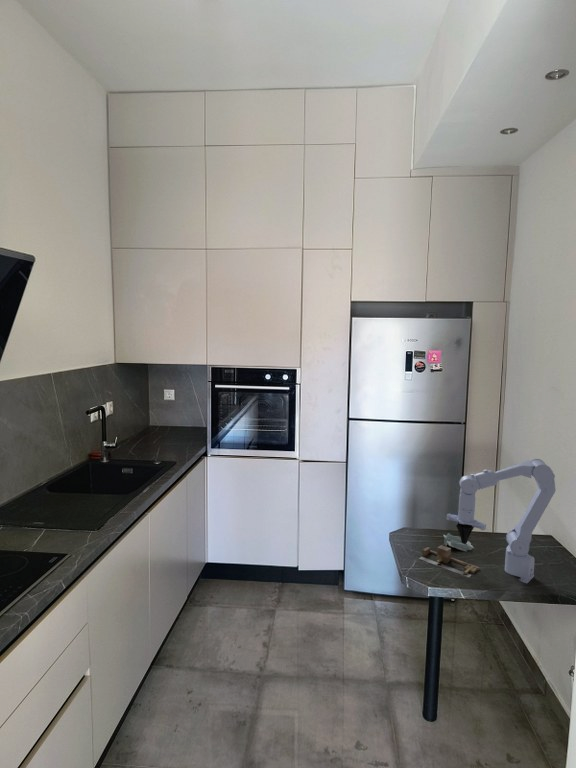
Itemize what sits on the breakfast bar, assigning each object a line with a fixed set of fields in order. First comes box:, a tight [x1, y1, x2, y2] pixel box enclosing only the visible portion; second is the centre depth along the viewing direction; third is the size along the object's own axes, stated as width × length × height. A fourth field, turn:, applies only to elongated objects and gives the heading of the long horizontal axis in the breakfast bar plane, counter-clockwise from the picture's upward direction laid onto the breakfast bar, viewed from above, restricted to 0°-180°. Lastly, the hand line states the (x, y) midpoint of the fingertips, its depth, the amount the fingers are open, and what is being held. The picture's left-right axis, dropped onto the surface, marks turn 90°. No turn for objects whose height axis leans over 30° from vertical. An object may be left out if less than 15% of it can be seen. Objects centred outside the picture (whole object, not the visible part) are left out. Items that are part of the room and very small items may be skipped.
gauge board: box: [418, 546, 480, 578], centre depth 184 cm, size 22×10×4 cm, turn 46°
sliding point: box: [436, 544, 452, 564], centre depth 185 cm, size 4×6×5 cm, turn 136°
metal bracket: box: [442, 532, 474, 552], centre depth 201 cm, size 14×6×15 cm
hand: (464, 542), depth 183 cm, fingers closed
